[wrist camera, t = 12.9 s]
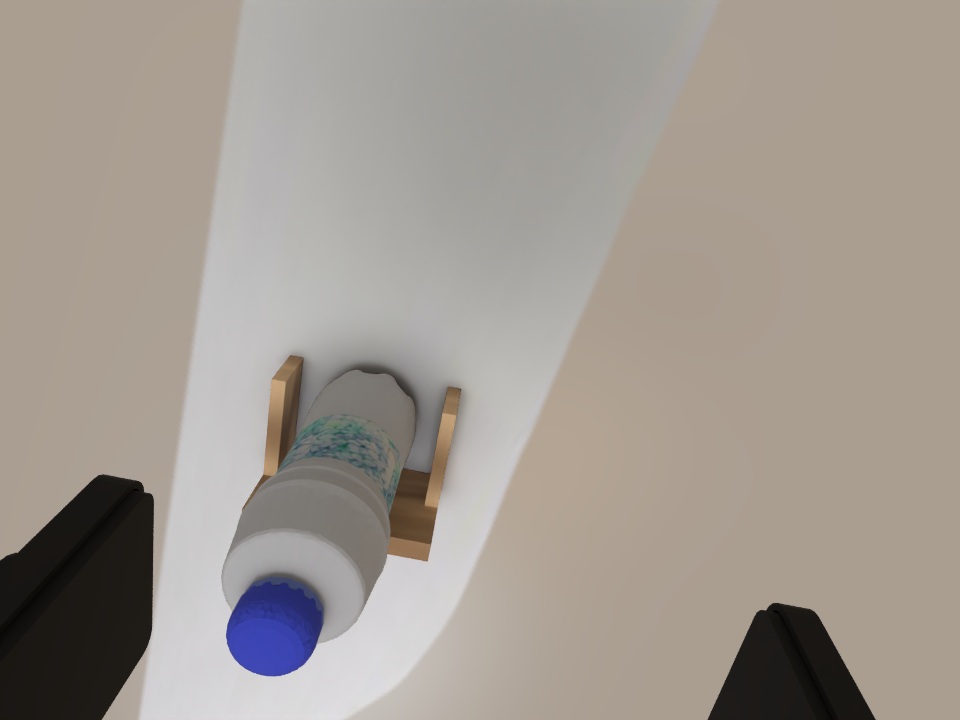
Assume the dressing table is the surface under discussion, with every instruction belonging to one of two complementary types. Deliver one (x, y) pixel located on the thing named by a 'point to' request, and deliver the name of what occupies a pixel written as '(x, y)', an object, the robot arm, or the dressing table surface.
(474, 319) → the dressing table surface
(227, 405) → the dressing table surface
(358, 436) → the bottle
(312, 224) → the dressing table surface
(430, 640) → the dressing table surface
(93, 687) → the robot arm
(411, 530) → the wooden u-shaped piece
